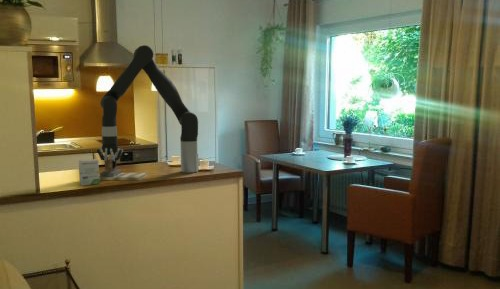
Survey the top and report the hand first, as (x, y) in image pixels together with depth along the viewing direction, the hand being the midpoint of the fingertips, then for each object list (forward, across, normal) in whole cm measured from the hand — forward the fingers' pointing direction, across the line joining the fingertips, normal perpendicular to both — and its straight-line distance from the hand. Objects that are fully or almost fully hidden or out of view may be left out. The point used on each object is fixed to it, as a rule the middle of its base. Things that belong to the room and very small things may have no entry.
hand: (110, 167), depth 234 cm
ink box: (+6, +5, +16) cm, 18 cm away
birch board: (+5, -6, 0) cm, 8 cm away
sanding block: (+4, 0, 0) cm, 4 cm away
